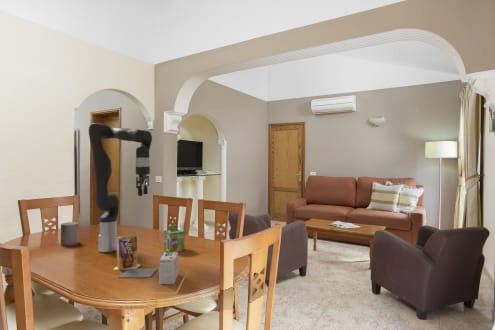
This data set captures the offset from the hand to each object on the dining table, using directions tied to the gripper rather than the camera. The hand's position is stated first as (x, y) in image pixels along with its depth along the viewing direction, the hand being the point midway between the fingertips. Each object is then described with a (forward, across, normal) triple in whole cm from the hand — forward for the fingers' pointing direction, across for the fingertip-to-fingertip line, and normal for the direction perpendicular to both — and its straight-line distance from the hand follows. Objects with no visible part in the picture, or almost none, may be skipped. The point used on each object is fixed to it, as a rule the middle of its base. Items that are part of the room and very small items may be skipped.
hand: (142, 195), depth 167 cm
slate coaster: (+34, +27, +7) cm, 44 cm away
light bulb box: (+34, +34, +23) cm, 54 cm away
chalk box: (+34, -10, +15) cm, 39 cm away
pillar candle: (+34, -24, -55) cm, 69 cm away
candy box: (+34, +18, -2) cm, 39 cm away
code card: (+34, +18, -2) cm, 39 cm away
